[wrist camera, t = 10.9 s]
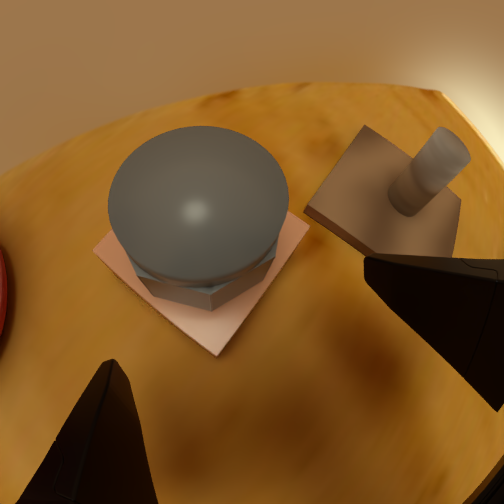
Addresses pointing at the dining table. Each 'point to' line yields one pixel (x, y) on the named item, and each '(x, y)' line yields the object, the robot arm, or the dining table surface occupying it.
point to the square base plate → (393, 196)
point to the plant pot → (2, 292)
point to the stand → (195, 319)
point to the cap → (199, 214)
